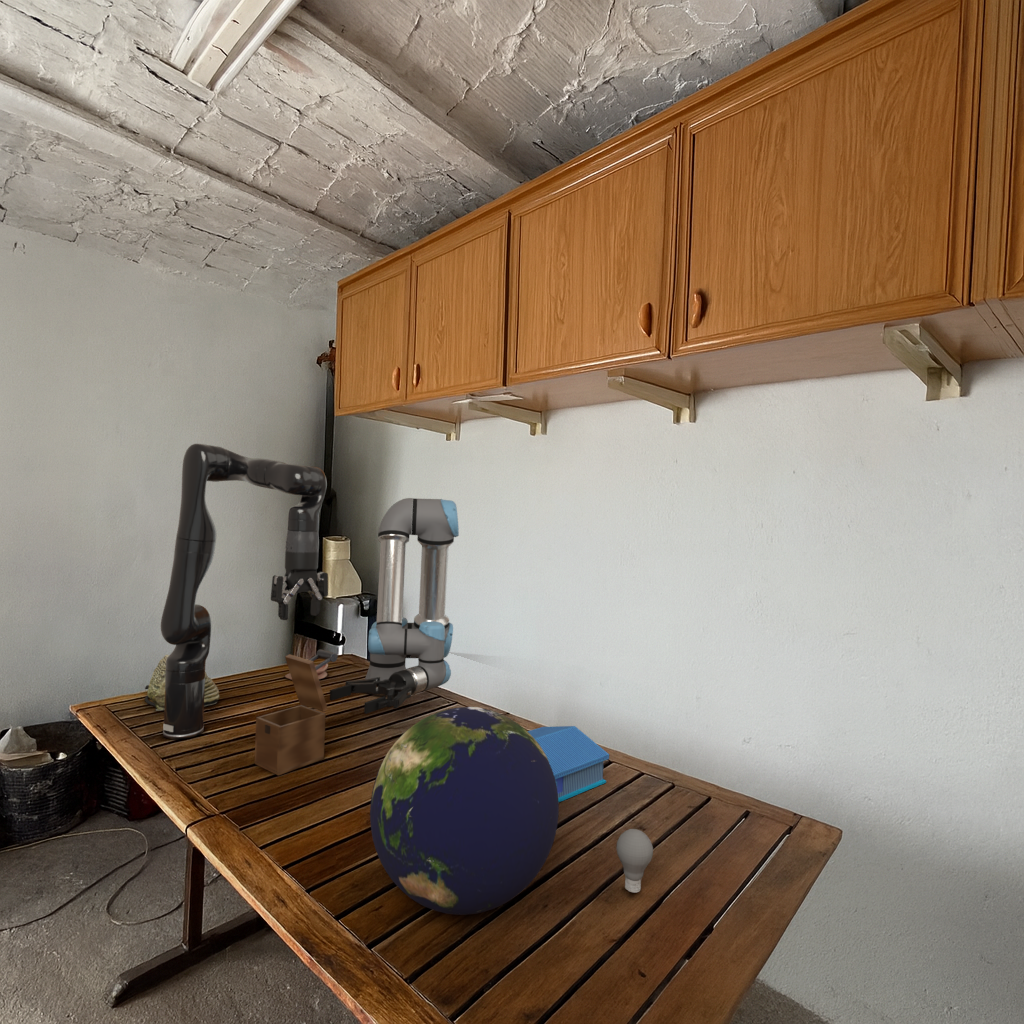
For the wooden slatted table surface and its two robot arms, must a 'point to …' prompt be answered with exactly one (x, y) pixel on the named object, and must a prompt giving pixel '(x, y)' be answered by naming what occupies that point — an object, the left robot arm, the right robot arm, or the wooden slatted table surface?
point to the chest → (289, 739)
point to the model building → (571, 759)
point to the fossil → (158, 687)
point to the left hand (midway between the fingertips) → (299, 617)
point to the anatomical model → (320, 672)
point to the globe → (464, 810)
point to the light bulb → (634, 857)
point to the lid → (309, 678)
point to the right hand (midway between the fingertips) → (347, 701)
